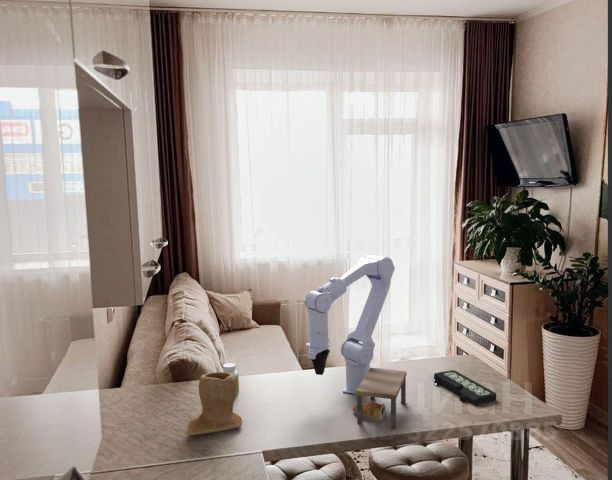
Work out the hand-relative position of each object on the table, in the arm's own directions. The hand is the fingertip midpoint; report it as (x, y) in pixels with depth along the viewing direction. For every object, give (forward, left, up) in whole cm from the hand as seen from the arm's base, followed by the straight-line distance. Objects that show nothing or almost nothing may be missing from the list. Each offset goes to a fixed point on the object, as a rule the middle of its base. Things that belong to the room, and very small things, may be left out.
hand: (319, 373), depth 158 cm
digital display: (-21, +40, -10) cm, 46 cm away
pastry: (+5, +17, -9) cm, 20 cm away
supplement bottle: (+3, -29, -9) cm, 31 cm away
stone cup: (+24, -23, -9) cm, 35 cm away
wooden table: (+2, +20, -9) cm, 22 cm away
